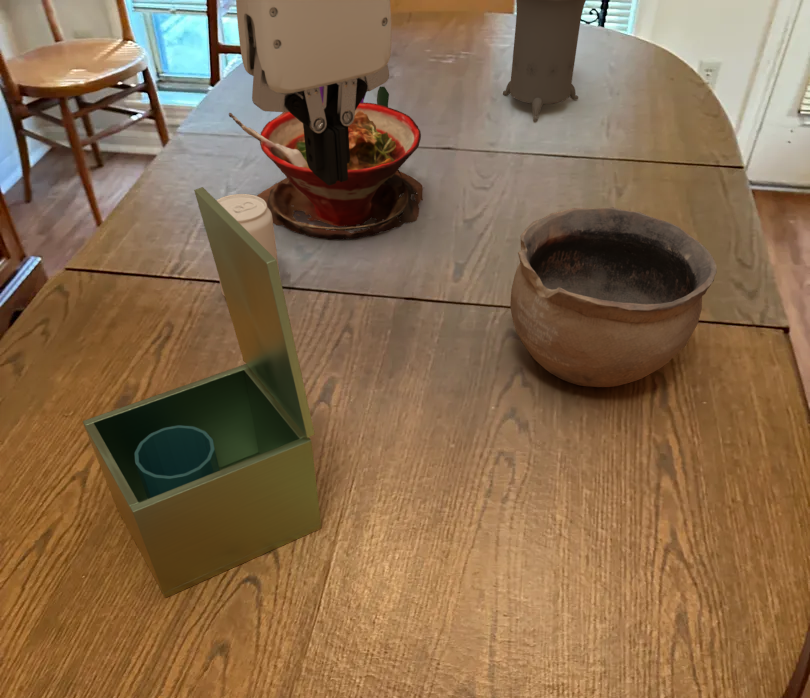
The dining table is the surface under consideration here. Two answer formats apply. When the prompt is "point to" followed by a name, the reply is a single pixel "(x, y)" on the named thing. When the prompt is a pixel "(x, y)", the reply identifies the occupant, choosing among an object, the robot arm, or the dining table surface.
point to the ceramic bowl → (607, 293)
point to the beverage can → (252, 219)
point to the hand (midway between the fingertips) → (329, 176)
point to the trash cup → (174, 458)
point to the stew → (367, 175)
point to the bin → (212, 478)
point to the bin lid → (257, 308)
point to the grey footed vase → (544, 51)
